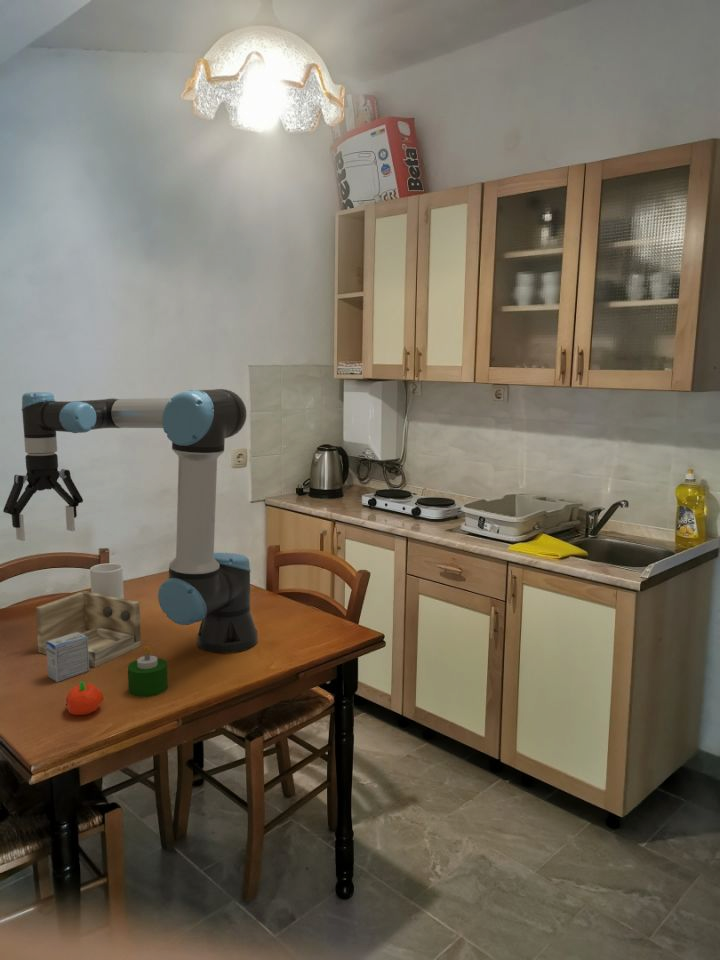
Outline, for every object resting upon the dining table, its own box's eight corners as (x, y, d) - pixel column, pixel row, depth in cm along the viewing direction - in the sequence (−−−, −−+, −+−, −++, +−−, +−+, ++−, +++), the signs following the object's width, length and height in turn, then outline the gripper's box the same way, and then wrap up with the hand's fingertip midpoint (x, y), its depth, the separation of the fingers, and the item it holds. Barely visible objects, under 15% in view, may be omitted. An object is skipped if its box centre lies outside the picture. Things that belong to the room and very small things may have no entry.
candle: (175, 688, 163) (174, 645, 161) (142, 700, 157) (140, 656, 155) (154, 677, 168) (152, 635, 167) (121, 689, 162) (119, 645, 161)
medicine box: (79, 666, 174) (77, 631, 172) (89, 671, 171) (88, 636, 169) (47, 677, 168) (45, 640, 166) (57, 682, 165) (55, 645, 163)
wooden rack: (141, 646, 186) (139, 602, 184) (95, 667, 173) (93, 620, 171) (86, 632, 195) (83, 590, 193) (38, 652, 181) (35, 607, 180)
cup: (114, 630, 196) (112, 572, 194) (86, 628, 198) (83, 570, 195) (130, 620, 204) (128, 564, 202) (103, 617, 206) (100, 562, 203)
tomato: (74, 725, 147) (68, 696, 145) (63, 710, 153) (58, 682, 152) (110, 711, 151) (104, 683, 149) (98, 697, 157) (93, 669, 156)
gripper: (78, 448, 200) (82, 524, 203) (-16, 457, 181) (-9, 541, 184) (93, 450, 195) (97, 528, 199) (-1, 459, 176) (5, 546, 179)
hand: (46, 535), depth 191 cm, fingers open, 13 cm apart
